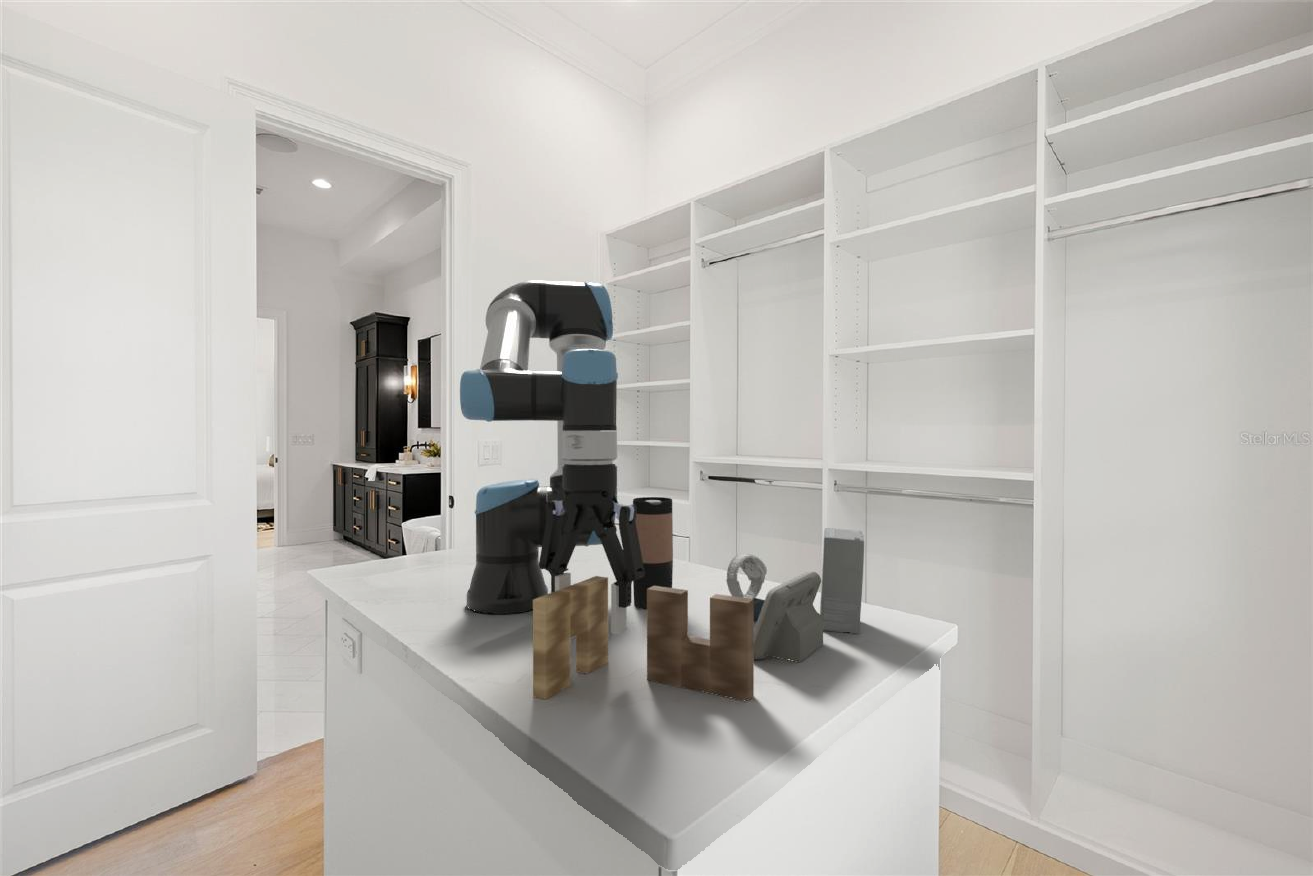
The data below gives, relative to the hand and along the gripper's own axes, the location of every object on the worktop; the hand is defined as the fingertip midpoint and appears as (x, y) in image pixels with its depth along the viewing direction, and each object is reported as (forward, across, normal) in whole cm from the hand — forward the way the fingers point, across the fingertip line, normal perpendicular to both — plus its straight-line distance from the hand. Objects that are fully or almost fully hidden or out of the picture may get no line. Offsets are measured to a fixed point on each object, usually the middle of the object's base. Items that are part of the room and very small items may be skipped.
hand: (590, 625), depth 85 cm
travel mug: (+6, -7, +31) cm, 32 cm away
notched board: (+6, 0, -4) cm, 7 cm away
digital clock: (+6, +22, +20) cm, 30 cm away
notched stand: (+6, +16, +1) cm, 17 cm away
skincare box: (+6, +27, +35) cm, 45 cm away
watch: (+6, +11, +32) cm, 34 cm away
